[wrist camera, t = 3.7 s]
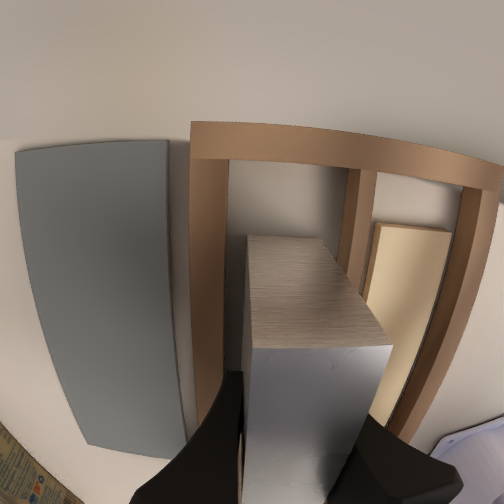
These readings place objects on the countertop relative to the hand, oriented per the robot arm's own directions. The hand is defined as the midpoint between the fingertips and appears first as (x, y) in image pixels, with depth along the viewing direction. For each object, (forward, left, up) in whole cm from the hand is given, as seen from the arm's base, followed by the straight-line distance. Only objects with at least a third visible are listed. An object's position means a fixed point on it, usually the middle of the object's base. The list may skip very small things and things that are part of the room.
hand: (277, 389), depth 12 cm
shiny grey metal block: (0, 0, -2) cm, 2 cm away
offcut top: (-5, 0, -3) cm, 6 cm away
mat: (+8, 0, -2) cm, 8 cm away
